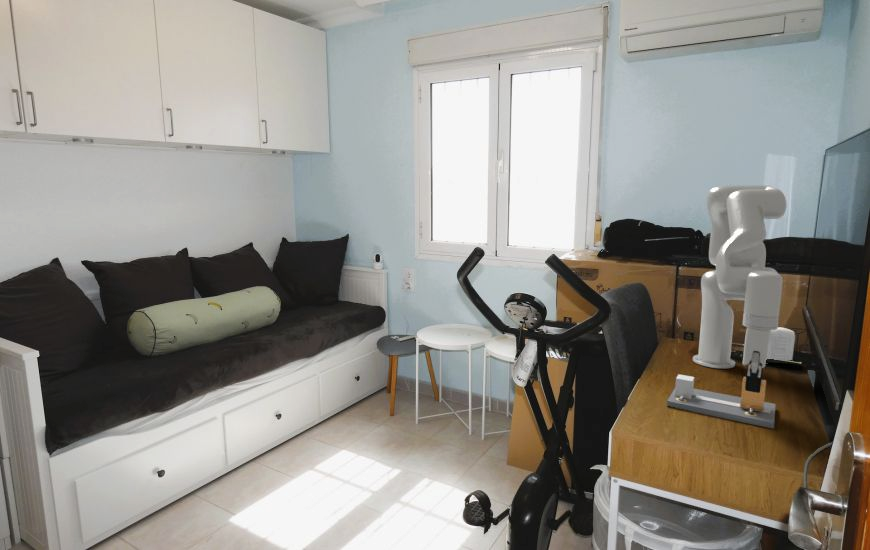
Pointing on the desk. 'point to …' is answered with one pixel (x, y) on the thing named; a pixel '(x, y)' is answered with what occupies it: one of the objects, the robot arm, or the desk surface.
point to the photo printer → (781, 344)
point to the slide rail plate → (717, 404)
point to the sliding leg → (753, 397)
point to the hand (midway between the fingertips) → (753, 385)
